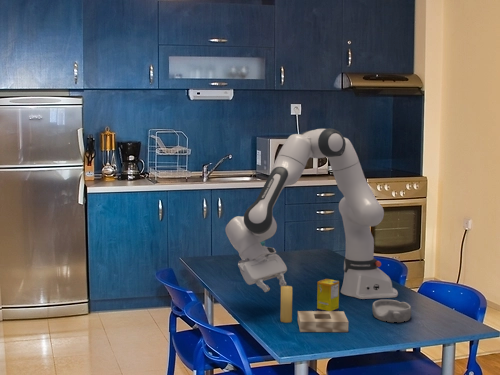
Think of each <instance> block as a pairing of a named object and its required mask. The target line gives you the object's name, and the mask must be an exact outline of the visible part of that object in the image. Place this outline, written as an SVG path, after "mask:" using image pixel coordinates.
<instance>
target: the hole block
mask: <svg viewBox="0 0 500 375" xmlns="http://www.w3.org/2000/svg"><path fill="white" fill-rule="evenodd" d="M297 324H298V327H299V329H298V330H299V332H300V333H349V319H348V318H347V316H346V314H345V311H344V310H343V311H339V310H337V311H317V310H314V311H313V310H300V311H299V310H297Z"/></svg>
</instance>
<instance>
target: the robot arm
mask: <svg viewBox="0 0 500 375" xmlns="http://www.w3.org/2000/svg"><path fill="white" fill-rule="evenodd" d="M323 158H327V160H328V161H329V164H330V168H331V172H332V173H333V177H334V179H335V182H336V185H337V188H338V190H339V191H340V192H341V194H342V195H343V197H342V198H341V199H340V201H339V202H338V211H339V214H340V215H341V218H342V224H343V229H344V230H343V231H344V235H345V256H344V258H343V271H344V274H343V282H342V286H341V289H340V293H341V294H342V295H344V296H348V297H352V298H356V299H359V300H361V299H362V300H365V299H367V300H368V299H370V300H371V299H387V298H388V299H390V298H397V297H398V295H399V292H398V290H397V289H396V288H394V287H393V282H392V280H391V278H390V276H389V275H387V274H386V273H385V272H384V271H383V270H381V269H380V267H381V266H382V262H381V261H380V260H378V259H376V258H374V257H375V256H374V254H375V252H374V251H375V250H374V249H375V246H374V245H375V240H374V238H375V237H374V236H373V234H372V231H371V227H376V226H378V225H379V224H380V223H381V222H382V221H383V219H384V216H385V210H384V208H383V205H381V203H380V202H379V201H378V199H377V198H376V196H375V194H374V192H373V190H372V188H371V187H370V185H369V183H368V181H367V179H366V177H365V173H364V170H363V169H362V165H361V163H360V160H359V157H358V154H357V152H356V150H355V148H354V145H353V143H352V142H351V140H349V138H347V137H344V135H343V134H342V133H341V132H340V131H339V130H337V129H335V128H317V129H312V130H306V131H303V132H302V133H300V134H299V133H293V134H291V135H289V136H288V138H287V139H286V140H285V142H284V143H283V145H281V148H280V150H279V152H278V153H277V156H276V158H275V161H274V164H273V165H272V168H271V170H270V173H269V176H268V178H267V179H266V181H265V182H264V185H263V187H262V188H261V191H260V192H259V194H258V196H257V198H256V200H255V201H254V202H253V203H252V204H251V205H250V206H249V207H248V208H247V209H245V212H244V214H243V216H239V215H238V216H234V217H233V218H231V219H230V220H229V221H228V222H227V224H226V225H225V228H224V229H225V230H224V231H225V234H226V236H227V238H228V240H229V242H230V244H231V245H232V246H233V248H234V249H235V250H236V251H237V252H238V256H239V257H240V258H241V260H238V262H237V266H238V268H239V271H240V274H241V275H242V278H243V280H244V282H245V283H246V284H247V285H249V286H251V285H257V286H258V288H260V289H262V291H263V292H264V293H267V292H269V291H270V290H271V287H269V285H268V284H265V283H264V281H269V280H271V279H274V278H276V279H277V280H279V283H278V284H279V286H280V287H281V286H287V282H286V280H285V277H284V276H285V275H284V274H285V273H286V272H288V267H287V265H286V263H285V262H284V260H283V258H281V257H280V255H279V254H277V250H276V249H275V248H274V247H270V246H266V245H265V246H262V245H261V243H260V242H263V241H265V242H266V241H267V240H270V239H271V238H273V237H274V236H275V234H276V232H277V230H278V224H277V223H278V222H277V221H276V219H275V217H274V215H273V209H274V207H275V204H276V203H277V200H278V199H279V196H280V194H281V193H282V190H283V189H284V188H286V187H287V186H292V185H295V184H296V183H297V182H298V180H300V178H301V176H302V174H303V173H304V170H305V168H306V166H307V164H308V163H307V162H308V161H309V159H323Z"/></svg>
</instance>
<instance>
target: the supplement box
mask: <svg viewBox="0 0 500 375" xmlns="http://www.w3.org/2000/svg"><path fill="white" fill-rule="evenodd" d="M316 283H317V286H316V287H317V288H316V289H317V290H316V291H317V293H316V294H317V295H316V300H317V301H316V311H339V310H340V309H339V308H340V307H339V306H340V305H339V303H340V301H339V300H340V281H339V280H334V279H330V278H325V279H321V280H319V281H317V282H316Z"/></svg>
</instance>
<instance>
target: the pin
mask: <svg viewBox="0 0 500 375" xmlns="http://www.w3.org/2000/svg"><path fill="white" fill-rule="evenodd" d="M279 315H280V317H279V318H280V322H281V323H285V324H287V323H292V321H293V286H292V285H285V286H281V285H280V314H279Z"/></svg>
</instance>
